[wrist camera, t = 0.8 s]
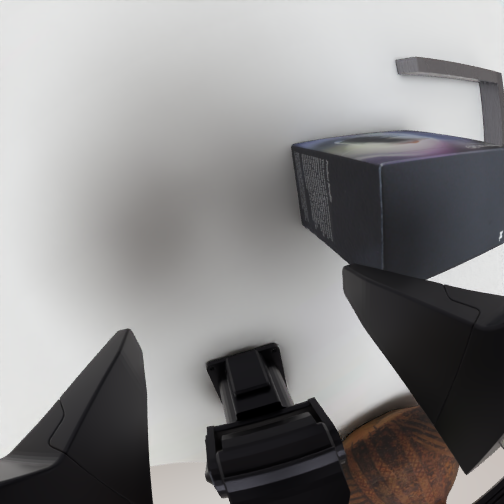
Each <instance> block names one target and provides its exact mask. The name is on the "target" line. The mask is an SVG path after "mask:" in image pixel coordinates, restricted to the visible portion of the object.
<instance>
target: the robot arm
mask: <svg viewBox="0 0 504 504" xmlns="http://www.w3.org/2000/svg"><path fill="white" fill-rule="evenodd" d="M342 275H343V290H344V294H345V296H346V297H347V299H348V301H349V303H350V304H351V306H352V308H353V309H354V311H355V313H356V315H357V316H358V318H359V320H360V322H361V323H362V325H363V327H364V328H365V330H366V331H367V332H368V334H369V335H370V337H371V338H372V339H373V341H374V342H375V343H376V345H377V346H378V347H379V349H380V350H381V351H382V353H383V354H384V356H385V357H386V358H387V360H388V361H389V362H390V364H391V365H392V367H393V368H394V369H395V371H396V372H397V374H398V375H399V376H400V378H401V379H402V381H403V382H404V383H405V385H406V386H407V388H408V389H409V390H410V392H411V393H412V395H413V396H414V398H415V399H416V401H417V402H418V403H419V405H420V406H421V408H422V409H423V411H424V412H425V414H426V415H427V416H428V418H429V419H430V421H431V422H432V424H433V425H434V427H435V429H436V430H437V432H438V433H439V435H440V436H441V438H442V439H443V441H444V442H445V444H446V445H447V447H448V448H449V450H450V451H451V453H452V454H453V456H454V457H455V459H456V461H457V462H458V464H459V465H460V467H461V468H462V470H463V471H464V473H465V474H466V475H467V474H469V473H470V472H471V471H472V470H474V469H475V468H476V467H478V466H479V465H480V464H481V463H482V462H483V461H485V460H486V459H487V458H488V457H489V456H490V455H492V454H493V453H494V452H495V451H496V450H497V449H498V448H499V447H500V446H501V447H502V448H503V449H504V296H500V295H494V294H488V293H482V292H477V291H471V290H466V289H462V288H457V287H453V286H449V285H443V284H440V283H436V282H432V281H428V280H424V279H419V278H415V277H411V276H407V275H403V274H398V273H394V272H390V271H386V270H382V269H377V268H373V267H369V266H364V265H360V264H356V263H353V264H350V265H347V266H344V267H343V270H342ZM272 349H274V350H272ZM211 367H212V368H211ZM206 369H207V372H208V374H209V376H210V378H211V381H212V383H213V385H214V387H215V389H216V391H217V394H218V396H219V398H220V400H221V402H222V404H223V408H224V413H225V417H226V422H227V424H224V425H219V426H215V427H214V426H209V427H207V435H206V440H205V443H206V453H207V465H206V472H205V477H206V480H207V482H209V483H211V484H212V485H214V487H215V489H216V490H217V492H218V493H219V495H220V496H221V498H229V501H230V504H349V500H350V494H351V492H350V489H349V487H348V484H347V481H346V478H345V475H344V472H343V469H342V466H341V464H343V463H345V461H346V456H345V450H344V447H343V443H342V441H341V438H340V436H339V433H338V431H337V429H336V428H335V426H334V424H333V423H332V422H331V420H330V419H329V417H328V416H327V415H326V413H325V412H324V410H323V409H322V408H321V406H320V405H319V403H318V402H317V401H316V399H315V398H311V399H308V401H305V402H302V403H299V404H296V405H294V403H293V401H292V399H291V396H290V394H289V392H288V389H287V385H286V380H285V375H284V370H283V365H282V360H281V355H280V350H279V347H278V345H277V344H270V345H267V346H263V347H260V348H257V349H254V350H250V351H247V352H243V353H240V354H236V355H233V356H229V357H226V358H222V359H218V360H215V361H211V362H208V363H207V364H206ZM0 504H153V500H152V489H151V478H150V464H149V447H148V420H147V389H146V381H145V372H144V362H143V353H142V350H141V347H140V345H139V343H138V342H137V340H136V338H135V336H134V334H133V332H132V331H131V329H124V330H119V331H117V333H116V334H115V335H114V336H113V337H112V338H111V339H110V340H109V341H108V343H107V344H106V345H105V346H104V347H103V348H102V349H101V350H100V352H99V353H98V354H97V355H96V356H95V357H94V358H93V360H92V361H91V362H90V363H89V364H88V365H87V366H86V368H85V369H84V370H83V371H82V372H81V373H80V375H79V376H78V377H77V378H76V379H75V380H74V382H73V383H72V384H71V385H70V386H69V388H68V389H67V390H66V391H65V392H64V393H63V395H62V396H61V397H60V400H58V401H57V402H56V403H55V404H54V406H53V407H52V408H51V409H50V410H49V411H48V413H47V414H46V415H45V416H44V417H43V418H42V419H41V421H40V422H39V423H38V424H37V425H36V426H35V427H34V428H33V429H32V430H31V431H30V432H29V433H28V434H27V435H26V437H25V438H24V439H23V440H22V441H21V442H20V443H19V444H18V445H17V446H16V447H15V448H14V449H13V450H12V451H11V452H10V453H9V454H8V455H7V456H5V457H3V458H1V459H0ZM473 504H504V477H503V478H502V479H501V480H500V481H498V482H497V483H496V484H495V485H494V486H493V487H492V488H491V489H490V490H488V491H487V492H486V493H485V494H484V495H482V496H481V497H480V498H479V499H478V500H476V501H475V502H474V503H473Z"/></svg>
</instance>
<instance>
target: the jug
mask: <svg viewBox="0 0 504 504" xmlns="http://www.w3.org/2000/svg"><path fill="white" fill-rule="evenodd" d="M342 443H343V447H344V450H345V456H346V461H345V463H343V464H341V466H342V469H343V472H344V475H345V478H346V481H347V484H348V487H349V489H350V492H351V494H350V500H349V504H446V500H447V496H448V494H449V492H450V490H451V488H452V486H453V484H454V481H455V479H456V476H457V472H458V468H459V464H458V462H457V461H456V459H455V457H454V456H453V454H452V453H451V451H450V450H449V448H448V447H447V445H446V444H445V442H444V441H443V439H442V438H441V436H440V435H439V433H438V432H437V430H436V429H435V427H434V425H433V424H432V422H431V421H430V419H429V418H428V416H427V415H426V414H425V412H424V411H423V409H422V408H421V406H414V407H410V408H404V409H396V410H392V411H390V412H388V413H386V414H384V415H381V416H379V417H377V418H375V419H373V420H371V421H370V422H368V423H366V424H364V425H363V426H361V427H359V428H358V429H356V430H355V431H354V432H352V433H351V434H350V435H349V436H348V437H347V438H346V439H345V440H344V441H343V442H342Z"/></svg>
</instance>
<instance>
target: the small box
mask: <svg viewBox="0 0 504 504" xmlns="http://www.w3.org/2000/svg"><path fill="white" fill-rule="evenodd" d="M291 148H292V156H293V163H294V170H295V176H296V183H297V190H298V197H299V204H300V212H301V219H302V225H303V226H304V227H305V228H307V229H309V230H310V231H311V232H312V233H313V234H315V235H316V236H317V237H318V238H319V239H321V240H322V241H323V242H325V244H327V245H328V246H329V247H330V248H331V249H332V250H334V251H335V252H336V253H337V254H338V255H340V256H341V257H342V258H343V259H344V260H345V261H347V262H348V263H349V264H353V263H356V264H360V265H364V266H369V267H373V268H377V269H382V270H386V271H390V272H394V273H398V274H403V275H407V276H411V277H415V278H419V279H424V280H426V279H429V278H431V277H433V276H436V275H438V274H440V273H443V272H445V271H447V270H449V269H451V268H454V267H456V266H458V265H460V264H462V263H464V262H466V261H469V260H471V259H473V258H475V257H477V256H479V255H481V254H483V253H485V252H487V251H489V250H491V249H493V248H495V247H497V246H499V245H501V244H503V243H504V146H500V145H496V144H491V143H487V142H482V141H477V140H472V139H467V138H461V137H455V136H449V135H442V134H435V133H428V132H419V131H408V130H403V131H388V132H376V133H365V134H356V135H348V136H341V137H333V138H326V139H319V140H313V141H307V142H302V143H296V144H293V145H292V146H291Z"/></svg>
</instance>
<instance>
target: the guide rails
mask: <svg viewBox="0 0 504 504" xmlns="http://www.w3.org/2000/svg"><path fill="white" fill-rule="evenodd" d="M396 65H397V70H398V74H408V75H423V76H435V77H445V78H453V79H461V80H468V81H475V82H479V83H480V90H481V99H482V108H483V120H484V138H485V142H487V143H491V144H496V145H500V146H504V89H503V82H502V75H501V73H499V72H495V71H491V70H487V69H483V68H479V67H475V66H470V65H465V64H460V63H455V62H449V61H443V60H437V59H430V58H423V57H411V58H405V59H399V60H396Z"/></svg>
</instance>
